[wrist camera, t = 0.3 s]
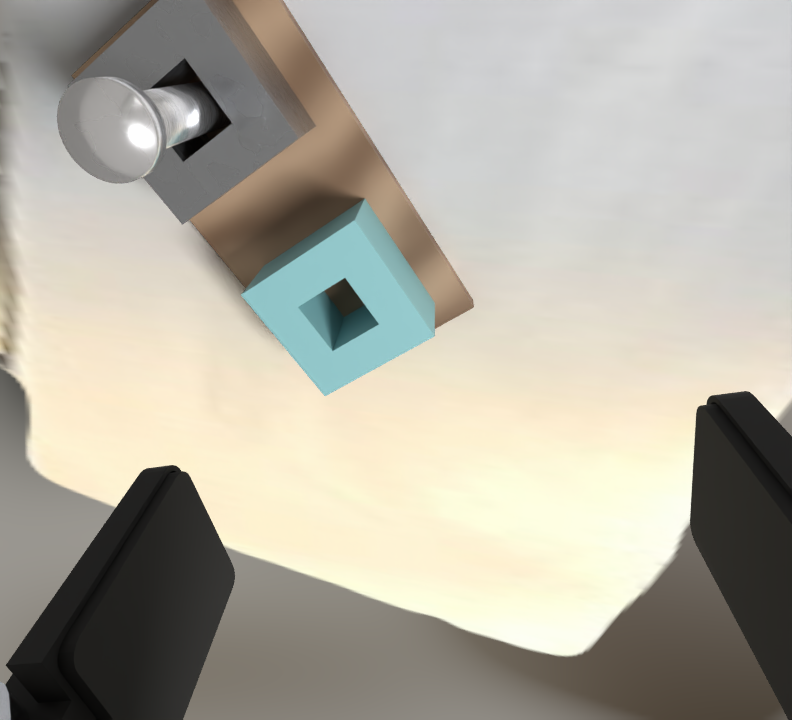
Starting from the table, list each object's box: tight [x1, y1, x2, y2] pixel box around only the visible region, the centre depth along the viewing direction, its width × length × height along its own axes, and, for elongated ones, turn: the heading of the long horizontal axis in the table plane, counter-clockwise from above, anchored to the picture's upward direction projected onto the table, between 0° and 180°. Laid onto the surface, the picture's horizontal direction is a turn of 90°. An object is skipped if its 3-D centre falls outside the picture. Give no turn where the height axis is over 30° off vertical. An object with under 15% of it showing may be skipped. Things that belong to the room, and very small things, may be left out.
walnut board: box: [72, 0, 474, 328], centre depth 43 cm, size 30×15×2 cm, turn 33°
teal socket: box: [241, 199, 435, 396], centre depth 43 cm, size 10×10×6 cm
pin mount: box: [68, 0, 316, 224], centre depth 37 cm, size 10×10×6 cm
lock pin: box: [57, 77, 232, 183], centre depth 33 cm, size 5×5×15 cm
